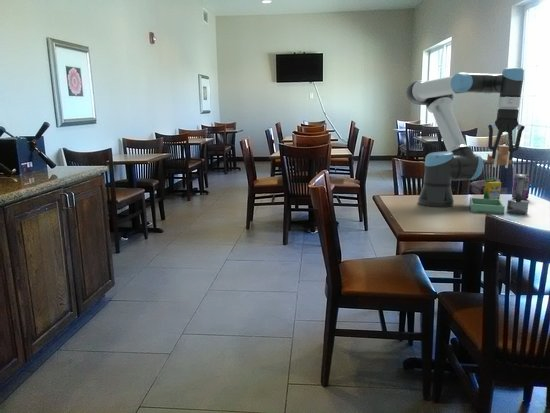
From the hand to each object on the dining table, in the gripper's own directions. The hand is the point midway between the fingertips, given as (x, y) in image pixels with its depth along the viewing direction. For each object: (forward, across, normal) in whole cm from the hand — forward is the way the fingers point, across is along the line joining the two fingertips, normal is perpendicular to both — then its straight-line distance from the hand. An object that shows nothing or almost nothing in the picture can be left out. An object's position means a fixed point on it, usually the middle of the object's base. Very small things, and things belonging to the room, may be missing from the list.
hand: (500, 167), depth 188 cm
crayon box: (+20, +1, +23) cm, 30 cm away
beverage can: (+20, +16, +39) cm, 47 cm away
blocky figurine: (+19, +9, 0) cm, 20 cm away
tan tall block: (-1, 0, +4) cm, 4 cm away
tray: (+19, -3, +5) cm, 20 cm away
